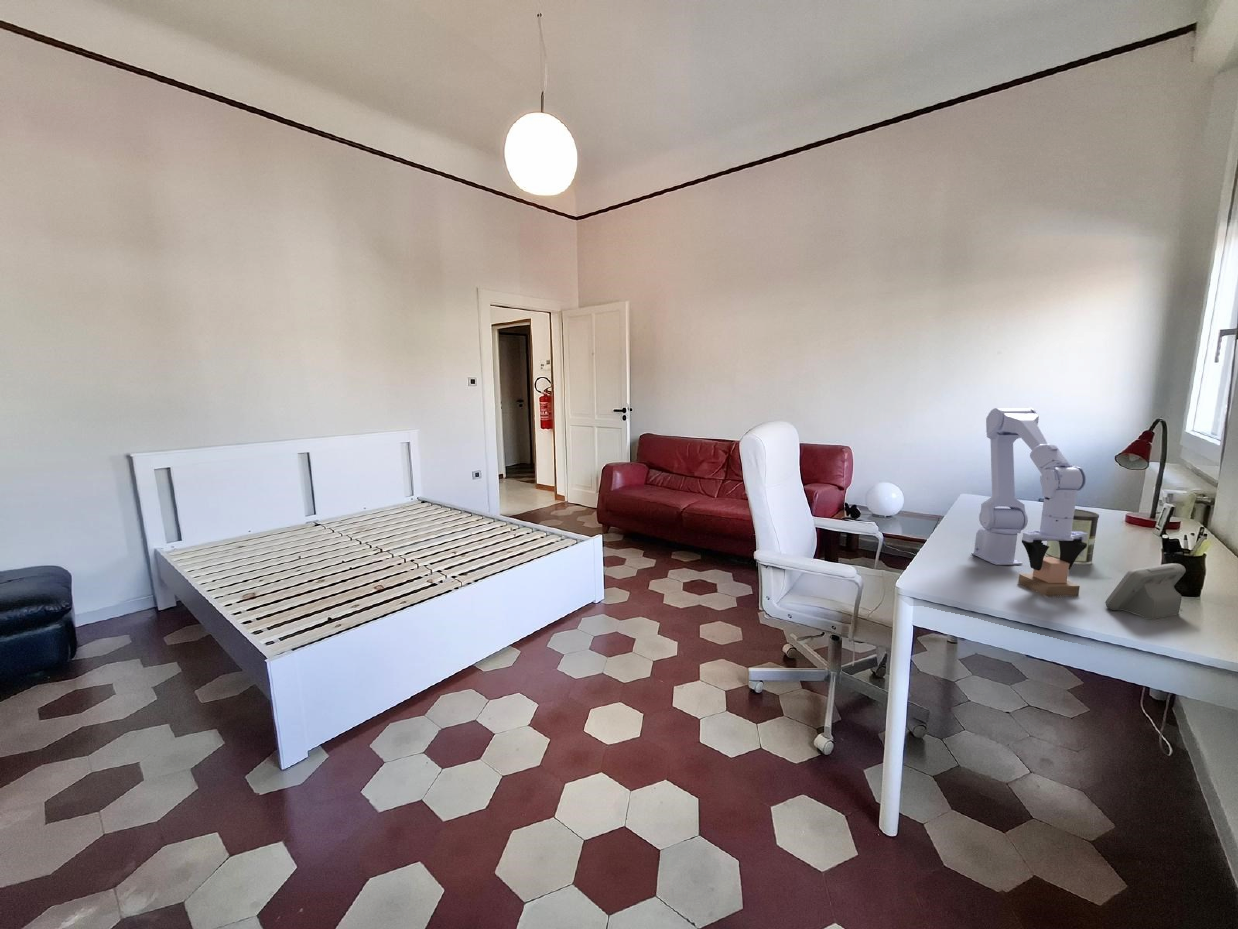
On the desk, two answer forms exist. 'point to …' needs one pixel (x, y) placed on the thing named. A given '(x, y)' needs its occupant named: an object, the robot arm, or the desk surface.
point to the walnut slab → (1048, 586)
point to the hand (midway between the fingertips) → (1050, 568)
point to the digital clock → (1148, 591)
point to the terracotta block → (1052, 570)
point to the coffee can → (1086, 524)
